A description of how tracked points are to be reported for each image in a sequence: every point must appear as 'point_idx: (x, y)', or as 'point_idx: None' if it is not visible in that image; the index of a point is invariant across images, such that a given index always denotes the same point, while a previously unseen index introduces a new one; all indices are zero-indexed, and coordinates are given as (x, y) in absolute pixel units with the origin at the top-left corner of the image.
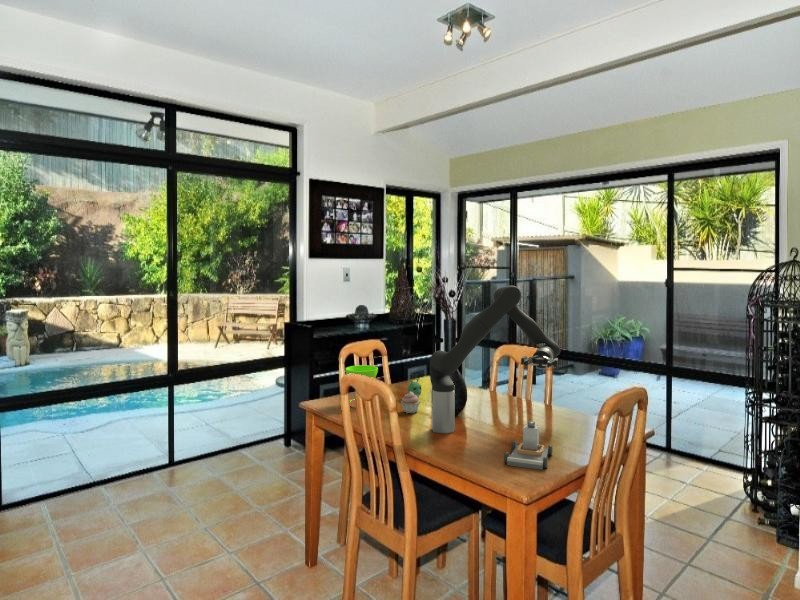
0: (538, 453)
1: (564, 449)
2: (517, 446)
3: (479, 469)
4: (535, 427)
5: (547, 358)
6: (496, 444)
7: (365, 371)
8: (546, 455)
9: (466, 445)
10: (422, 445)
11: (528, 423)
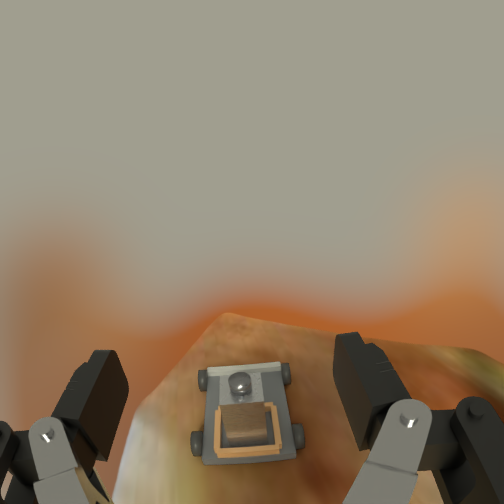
0: None
1: (164, 498)
2: (289, 442)
3: (316, 341)
4: (226, 383)
5: (67, 471)
6: (359, 458)
7: None
8: (205, 417)
9: None
10: (470, 364)
11: (246, 374)
